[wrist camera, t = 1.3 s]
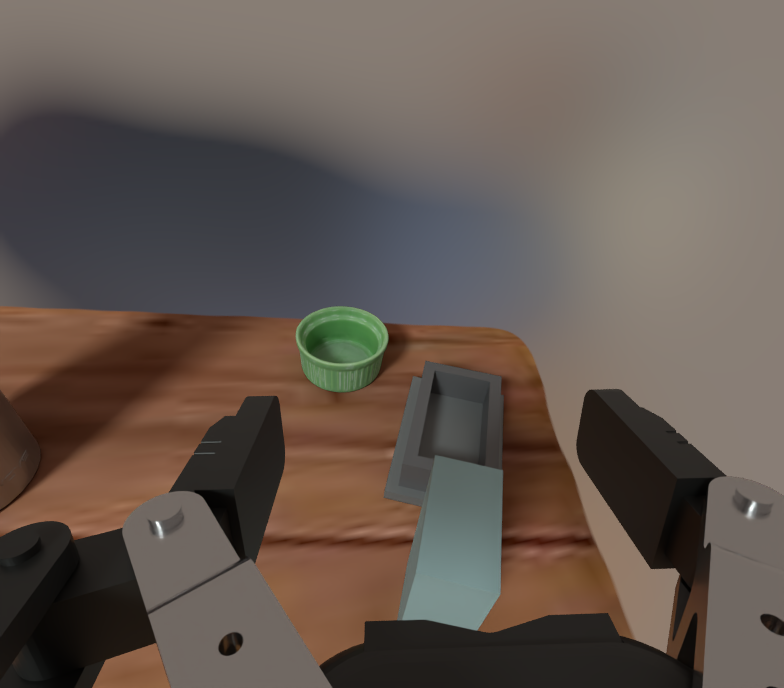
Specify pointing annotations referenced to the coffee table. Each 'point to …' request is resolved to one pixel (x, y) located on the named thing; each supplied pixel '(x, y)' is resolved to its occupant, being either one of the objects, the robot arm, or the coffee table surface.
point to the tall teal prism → (456, 546)
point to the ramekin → (341, 347)
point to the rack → (446, 427)
